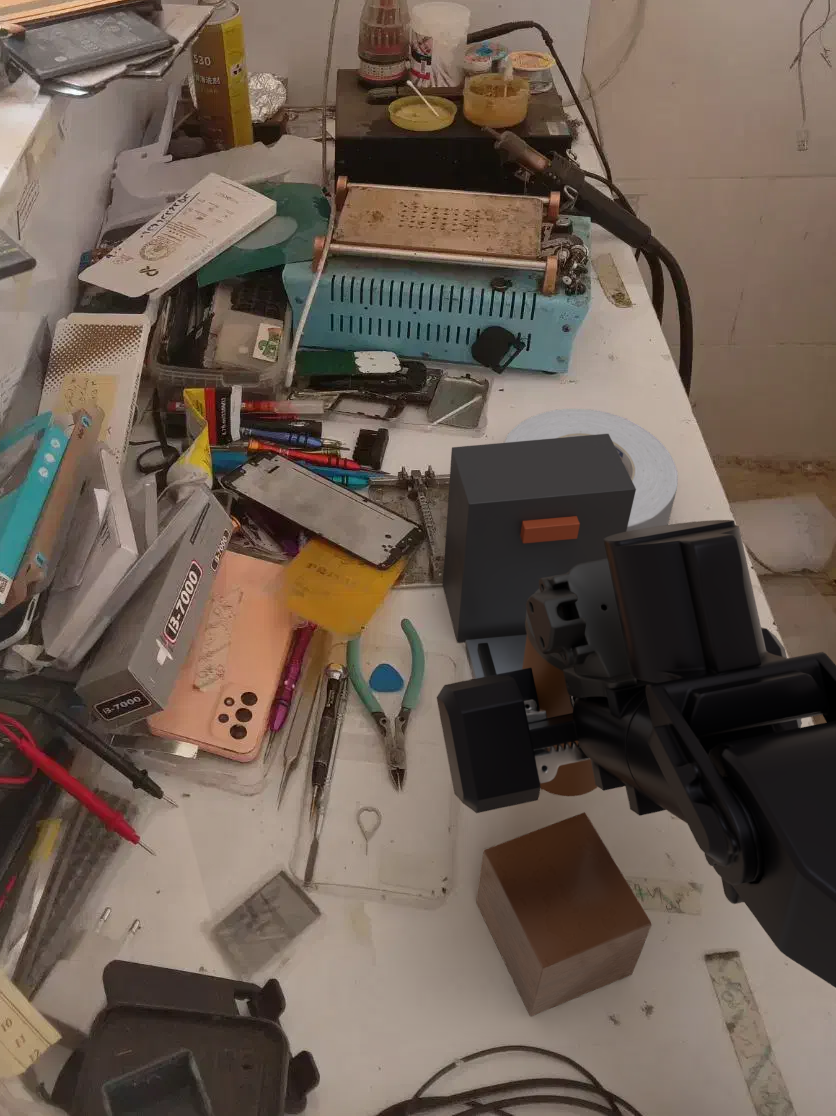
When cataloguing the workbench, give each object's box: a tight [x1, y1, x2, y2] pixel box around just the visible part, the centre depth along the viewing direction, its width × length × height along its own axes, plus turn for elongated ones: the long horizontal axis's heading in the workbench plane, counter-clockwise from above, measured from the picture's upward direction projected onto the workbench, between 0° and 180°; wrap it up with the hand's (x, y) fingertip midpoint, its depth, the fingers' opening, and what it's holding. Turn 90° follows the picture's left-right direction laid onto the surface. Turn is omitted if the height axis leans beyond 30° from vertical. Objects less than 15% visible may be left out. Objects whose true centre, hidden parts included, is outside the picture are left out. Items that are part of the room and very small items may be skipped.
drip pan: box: [464, 634, 527, 679], centre depth 75 cm, size 11×11×2 cm
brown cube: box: [476, 812, 653, 1017], centre depth 61 cm, size 7×7×7 cm
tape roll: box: [503, 408, 679, 532], centre depth 90 cm, size 15×15×5 cm
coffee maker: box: [442, 434, 636, 644], centre depth 78 cm, size 7×12×16 cm, turn 94°
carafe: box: [522, 588, 598, 797], centre depth 60 cm, size 8×6×13 cm
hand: (560, 687), depth 61 cm, fingers closed on carafe, 6 cm apart
